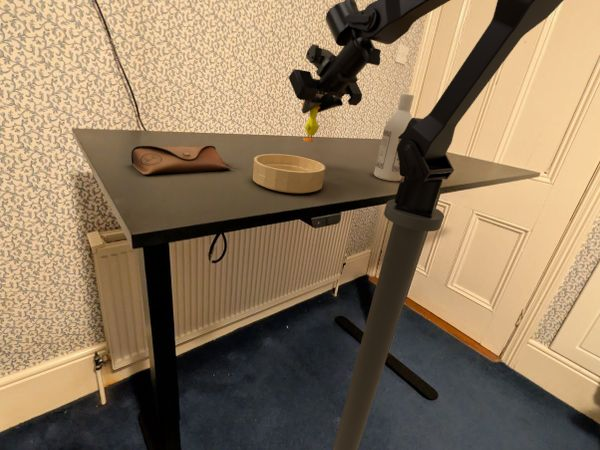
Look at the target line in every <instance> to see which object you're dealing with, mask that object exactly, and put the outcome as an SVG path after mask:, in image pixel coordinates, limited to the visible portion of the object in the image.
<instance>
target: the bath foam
mask: <svg viewBox="0 0 600 450" xmlns="http://www.w3.org/2000/svg"><path fill="white" fill-rule="evenodd" d="M414 97H415V96H414V94H410V93H401V94H400V97H399V100H398V105H397V110H395V112H394V113H393V114H392V115H391V116H389V118H388V120H387V121H386V123H385V125H384V128H383V132H382V136H381V140H380V141H381V142H380V145H379V149H378V154H377V158H376V163H375V167H374V172H373V175H374V177H375V178H377V179H380V180H384V181H388V182H401V181H402V178H403V176H401V175H400V168H399V158H398V152H397V146H398V143H399V141H400V140H401V139H398V137H399V136H400V135H402V133H403V132H404V131H405V129H406V127H407V125H408V123H409V121H410V120H411V119H412V118H413V117H412V114H411V109H412V106H413V101H414Z"/></svg>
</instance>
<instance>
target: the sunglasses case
mask: <svg viewBox="0 0 600 450" xmlns="http://www.w3.org/2000/svg"><path fill="white" fill-rule="evenodd" d="M130 154H131V156H130V160H131V164H132V165H131V166H132V167H133V168H134V169H135V170H136V171H137V172H138V173H139V174H141V175H145V176H149V175H158V174H180V173H181V174H182V173H206V172H216V171H217V172H218V171H223V170H229V169H231V168H230V167H229V166H227V165H226V163H225V161H224V160H223V158H222V157H221V155H220V154H219V152H218V151H217V148H216V147H215V146H214V145H203V146H189V145H188V146H183V145H182V146H156V145H138V146H135V147H134V148H132V150H131V153H130Z"/></svg>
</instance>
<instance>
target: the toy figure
mask: <svg viewBox="0 0 600 450" xmlns="http://www.w3.org/2000/svg"><path fill="white" fill-rule="evenodd" d="M303 104H304V102H301V105H302V107H303ZM320 108H321V107H320V106H317V107H315V108H314V109H312V110H310V111H309V119H308V120H307V121H306V122H305V126H304V131H305V133H306V135H307V137H303V138H302V141H304V142H308V143H313V142H314V140H313V136H315V135H316V134H317V133H318V130H319V127H320V125H319V123H318V121H317V116H318V114H319V113H318V109H320Z"/></svg>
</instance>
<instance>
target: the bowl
mask: <svg viewBox="0 0 600 450" xmlns="http://www.w3.org/2000/svg"><path fill="white" fill-rule="evenodd" d="M252 164H253V165H252V175H251V176H252V181H253V182H254V183H256V185H259V186H261V187H263V188H265V189H268V190H271V191H275V192H279V193H285V194H307V193H314V192H318V191H319V190H321V189H322V188H323V184H324V178H325V172H326V166H325V164H323V163H322V162H319V161H317V160H314V159H311V158H307V157H303V156H299V155H298V156H297V155H293V154H283V153H282V154H281V153H266V154H259V155H256V156H254V157H253V163H252Z"/></svg>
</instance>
